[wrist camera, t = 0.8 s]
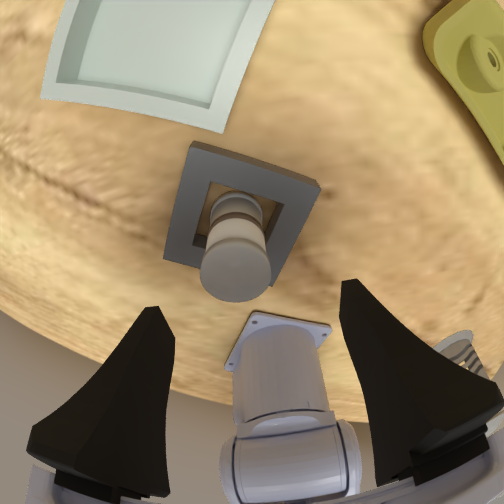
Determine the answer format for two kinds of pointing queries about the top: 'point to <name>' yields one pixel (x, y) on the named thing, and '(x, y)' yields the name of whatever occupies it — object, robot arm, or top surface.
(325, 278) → the top surface
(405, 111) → the top surface
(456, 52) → the plastic component
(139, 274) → the top surface
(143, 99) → the parts tray
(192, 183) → the gray square frame
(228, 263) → the cylinder
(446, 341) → the french press
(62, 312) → the top surface
